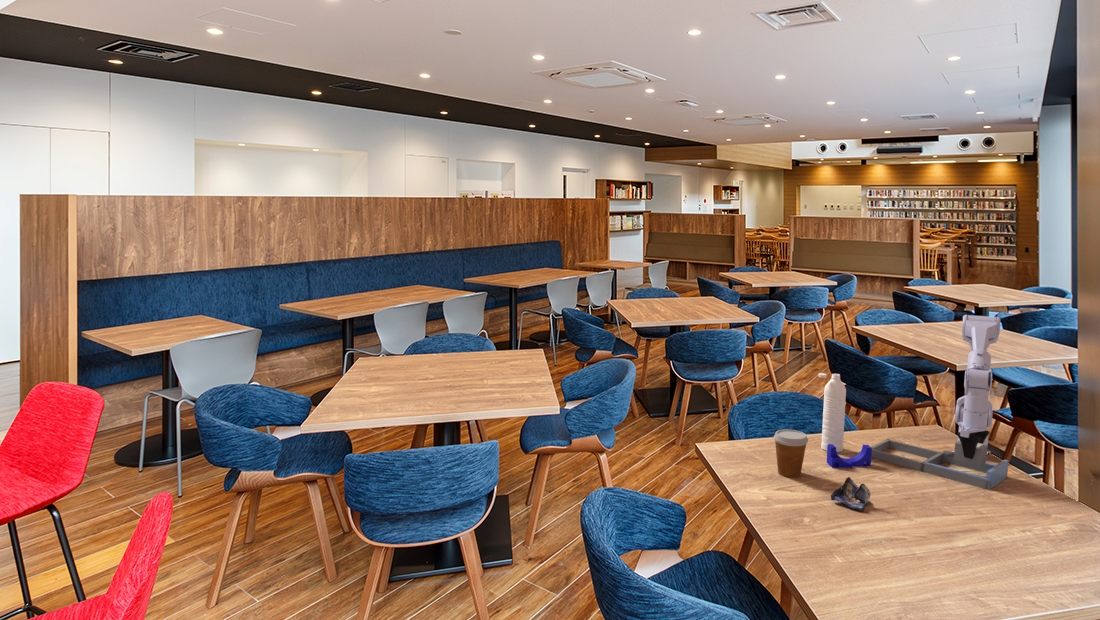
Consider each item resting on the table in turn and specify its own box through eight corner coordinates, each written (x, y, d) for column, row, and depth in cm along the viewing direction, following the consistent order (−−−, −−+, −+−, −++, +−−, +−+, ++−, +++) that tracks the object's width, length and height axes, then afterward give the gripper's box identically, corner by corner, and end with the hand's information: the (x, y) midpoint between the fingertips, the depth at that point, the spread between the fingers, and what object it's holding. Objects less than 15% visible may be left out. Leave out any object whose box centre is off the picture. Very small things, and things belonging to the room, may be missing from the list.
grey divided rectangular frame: (887, 446, 220) (888, 431, 219) (1007, 477, 194) (1008, 460, 193) (866, 456, 211) (867, 441, 210) (989, 489, 185) (990, 472, 184)
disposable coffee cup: (767, 468, 202) (768, 429, 200) (797, 466, 203) (799, 428, 201) (780, 480, 193) (782, 440, 191) (812, 479, 193) (814, 438, 192)
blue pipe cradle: (831, 468, 202) (832, 449, 201) (826, 462, 206) (827, 444, 205) (872, 469, 201) (873, 449, 200) (866, 463, 206) (867, 444, 205)
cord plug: (945, 452, 201) (946, 436, 201) (986, 462, 193) (987, 445, 192) (940, 455, 199) (941, 439, 198) (980, 465, 190) (982, 448, 190)
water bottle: (838, 445, 221) (842, 371, 217) (846, 452, 214) (850, 376, 211) (811, 445, 221) (814, 371, 217) (818, 452, 215) (822, 376, 211)
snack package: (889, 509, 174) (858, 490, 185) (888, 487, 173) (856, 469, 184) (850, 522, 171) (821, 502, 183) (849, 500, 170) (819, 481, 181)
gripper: (969, 402, 200) (966, 446, 202) (950, 412, 191) (946, 458, 192) (996, 408, 194) (992, 453, 196) (977, 417, 185) (973, 464, 187)
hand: (971, 456), depth 194 cm, fingers closed on cord plug, 4 cm apart
